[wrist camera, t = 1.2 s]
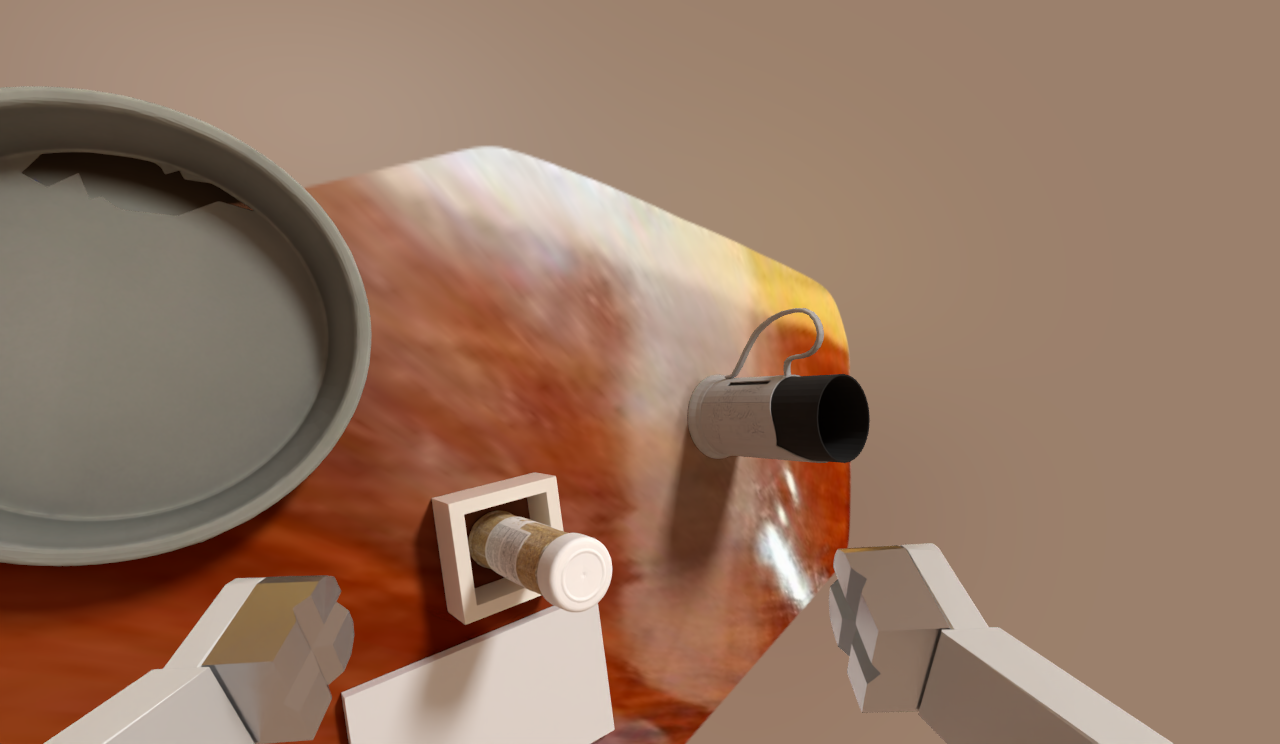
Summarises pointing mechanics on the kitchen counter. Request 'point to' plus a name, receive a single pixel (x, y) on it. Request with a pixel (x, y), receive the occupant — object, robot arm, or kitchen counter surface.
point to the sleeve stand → (455, 549)
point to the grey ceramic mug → (780, 412)
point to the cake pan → (159, 329)
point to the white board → (494, 689)
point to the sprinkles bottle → (543, 559)
